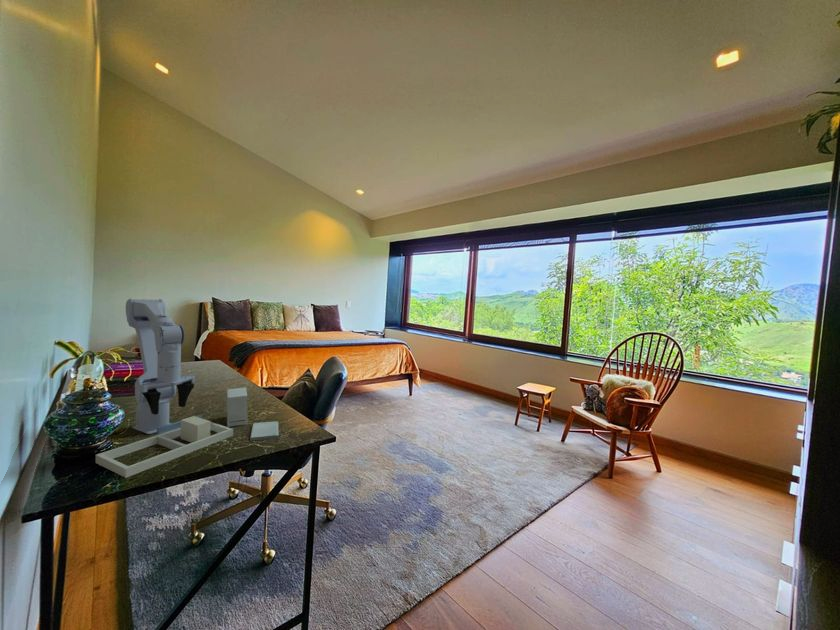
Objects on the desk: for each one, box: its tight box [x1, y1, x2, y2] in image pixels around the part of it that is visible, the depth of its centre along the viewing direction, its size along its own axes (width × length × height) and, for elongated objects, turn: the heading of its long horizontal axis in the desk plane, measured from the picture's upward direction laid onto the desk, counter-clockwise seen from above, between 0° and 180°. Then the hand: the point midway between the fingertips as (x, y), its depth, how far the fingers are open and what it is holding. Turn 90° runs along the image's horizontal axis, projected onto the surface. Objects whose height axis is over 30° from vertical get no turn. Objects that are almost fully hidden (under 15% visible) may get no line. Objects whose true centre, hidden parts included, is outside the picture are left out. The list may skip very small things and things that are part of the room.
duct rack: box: [95, 414, 234, 478], centre depth 100 cm, size 15×29×4 cm, turn 156°
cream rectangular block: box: [180, 415, 212, 443], centre depth 106 cm, size 8×4×6 cm, turn 66°
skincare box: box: [226, 386, 248, 428], centre depth 123 cm, size 10×6×10 cm, turn 29°
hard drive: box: [249, 421, 279, 442], centre depth 115 cm, size 2×8×12 cm
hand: (168, 410), depth 104 cm, fingers open, 7 cm apart
